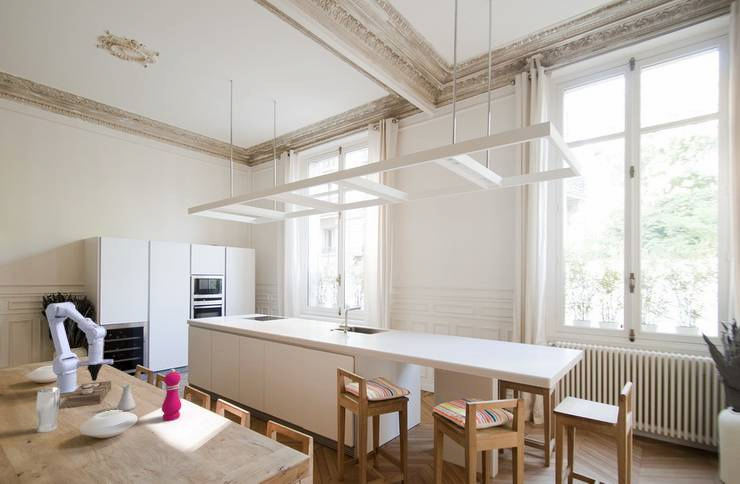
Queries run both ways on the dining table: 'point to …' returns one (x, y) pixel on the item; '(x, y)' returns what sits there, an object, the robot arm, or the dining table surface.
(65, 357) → the robot arm
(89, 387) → the birch peg outer
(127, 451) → the dining table surface
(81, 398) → the walnut block
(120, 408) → the flask
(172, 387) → the pepper mill
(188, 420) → the dining table surface
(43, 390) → the beer glass
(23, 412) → the dining table surface
